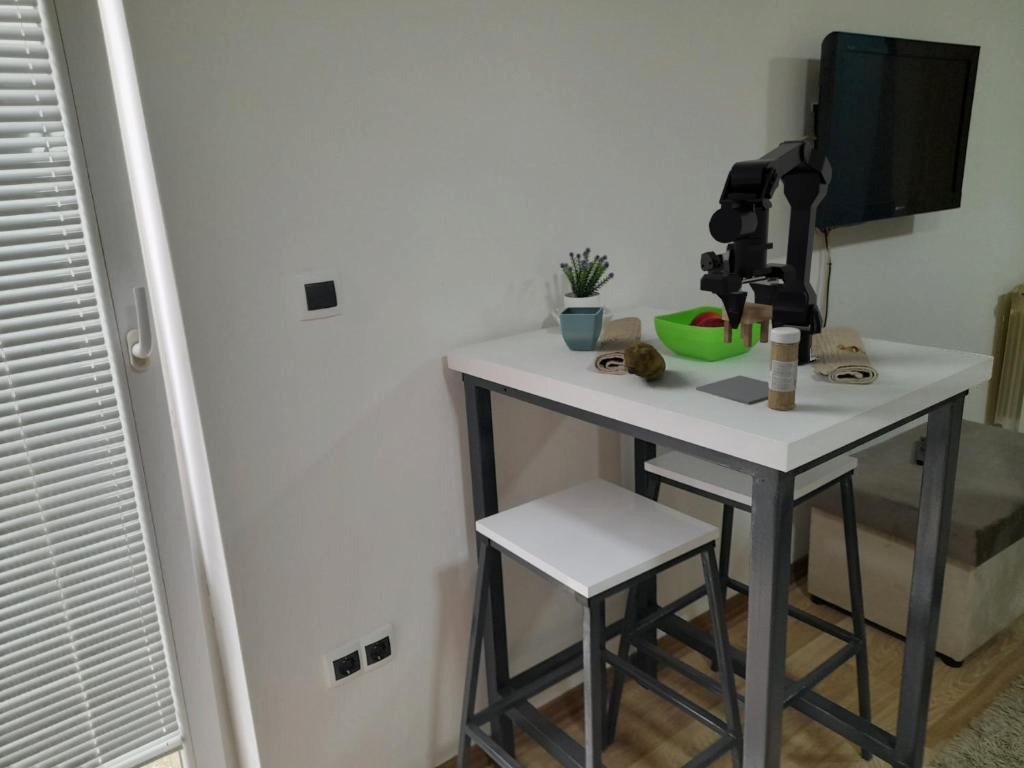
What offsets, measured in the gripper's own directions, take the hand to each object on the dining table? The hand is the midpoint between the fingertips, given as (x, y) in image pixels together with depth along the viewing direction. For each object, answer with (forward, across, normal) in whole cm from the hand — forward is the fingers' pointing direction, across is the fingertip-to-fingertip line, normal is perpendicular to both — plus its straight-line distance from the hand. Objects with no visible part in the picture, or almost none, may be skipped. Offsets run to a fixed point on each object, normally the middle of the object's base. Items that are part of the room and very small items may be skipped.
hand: (746, 326), depth 131 cm
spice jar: (+12, +3, +10) cm, 16 cm away
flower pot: (+12, +1, -46) cm, 48 cm away
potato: (+12, +8, -17) cm, 22 cm away
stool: (+3, 0, 0) cm, 3 cm away
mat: (+12, 0, 0) cm, 12 cm away
